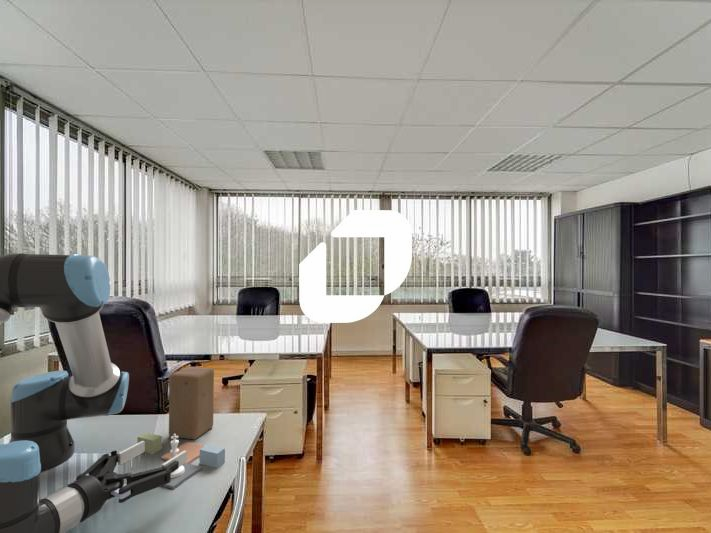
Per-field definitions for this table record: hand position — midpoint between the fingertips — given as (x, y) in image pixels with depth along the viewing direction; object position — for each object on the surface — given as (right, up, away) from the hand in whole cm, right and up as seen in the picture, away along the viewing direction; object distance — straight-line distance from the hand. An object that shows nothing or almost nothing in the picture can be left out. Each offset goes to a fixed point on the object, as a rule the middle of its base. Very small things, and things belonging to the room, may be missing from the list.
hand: (164, 451), depth 89 cm
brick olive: (-13, -8, +16) cm, 22 cm away
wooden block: (-6, -8, +27) cm, 29 cm away
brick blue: (+8, -8, +9) cm, 15 cm away
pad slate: (+1, -8, +3) cm, 9 cm away
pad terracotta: (-1, -8, +14) cm, 16 cm away
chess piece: (+1, -7, +3) cm, 8 cm away
